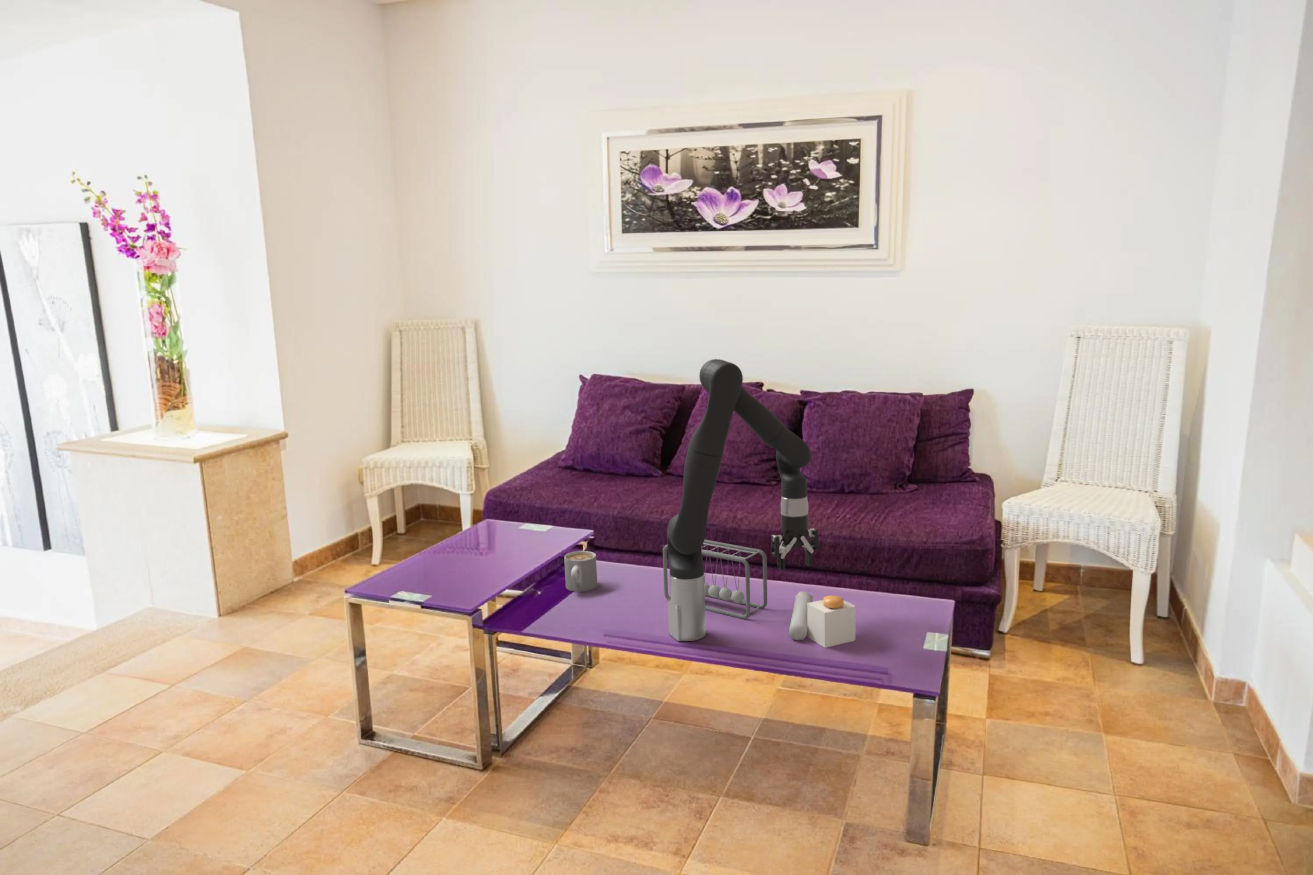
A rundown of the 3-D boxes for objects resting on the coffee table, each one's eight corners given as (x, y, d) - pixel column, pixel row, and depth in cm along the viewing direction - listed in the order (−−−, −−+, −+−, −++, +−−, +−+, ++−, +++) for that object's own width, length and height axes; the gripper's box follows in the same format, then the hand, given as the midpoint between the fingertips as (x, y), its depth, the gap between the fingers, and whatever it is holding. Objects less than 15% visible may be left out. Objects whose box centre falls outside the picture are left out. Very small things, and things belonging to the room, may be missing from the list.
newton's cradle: (768, 609, 260) (767, 550, 257) (748, 621, 252) (747, 560, 249) (684, 590, 279) (682, 534, 275) (663, 600, 270) (661, 543, 267)
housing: (824, 647, 233) (824, 612, 231) (807, 636, 240) (807, 602, 238) (855, 640, 236) (855, 606, 235) (837, 630, 244) (837, 596, 242)
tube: (810, 629, 235) (815, 595, 259) (791, 622, 236) (798, 588, 260) (804, 647, 237) (809, 611, 261) (784, 639, 238) (792, 604, 261)
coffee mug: (574, 579, 292) (573, 549, 290) (602, 582, 288) (601, 552, 286) (555, 593, 279) (553, 562, 278) (583, 596, 276) (582, 565, 274)
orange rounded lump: (830, 616, 232) (831, 603, 232) (819, 610, 237) (819, 597, 237) (847, 612, 235) (847, 600, 234) (835, 606, 239) (836, 594, 239)
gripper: (779, 518, 242) (780, 576, 245) (823, 511, 248) (824, 567, 251) (765, 512, 249) (766, 568, 252) (808, 505, 255) (809, 560, 257)
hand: (795, 567), depth 251 cm, fingers open, 8 cm apart
